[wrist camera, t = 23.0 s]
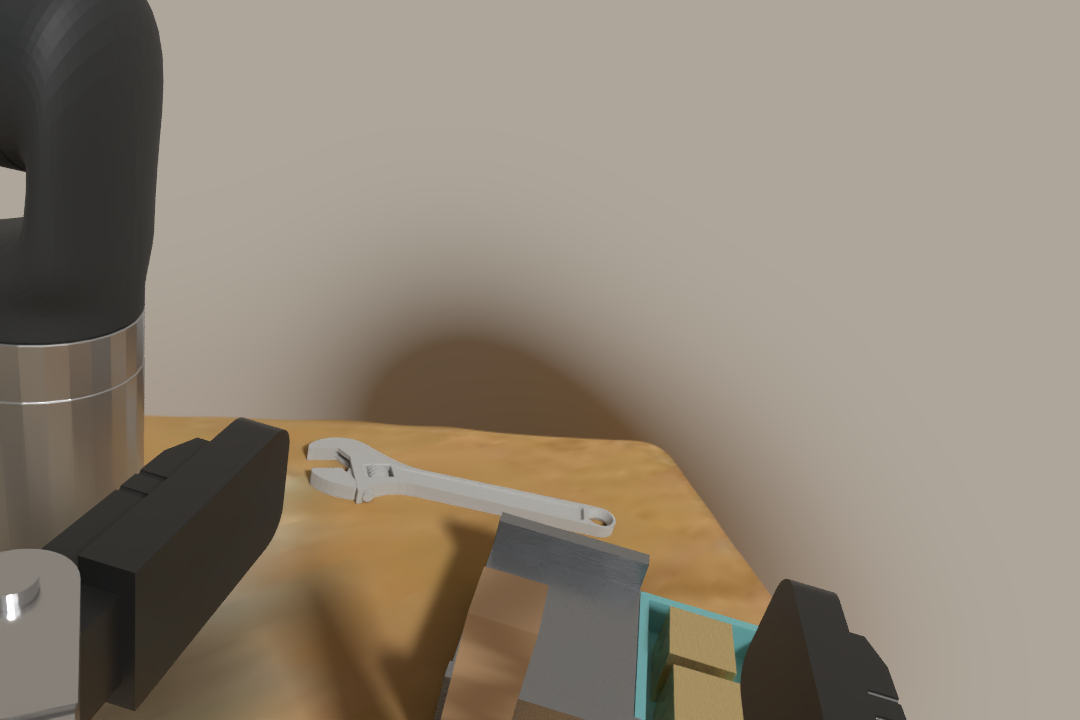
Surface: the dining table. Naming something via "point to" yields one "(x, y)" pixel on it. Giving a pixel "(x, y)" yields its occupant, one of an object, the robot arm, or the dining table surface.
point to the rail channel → (573, 622)
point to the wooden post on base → (495, 647)
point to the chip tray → (648, 630)
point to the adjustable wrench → (441, 488)
